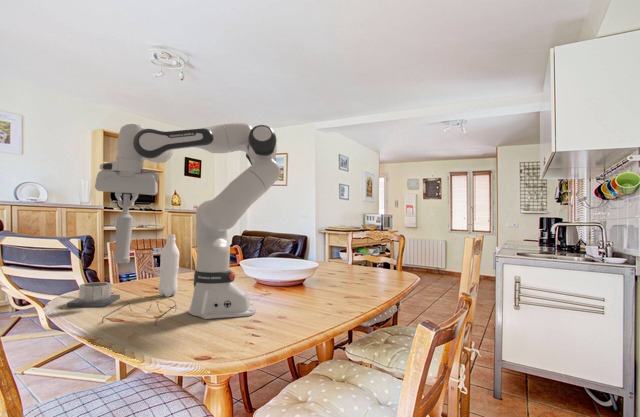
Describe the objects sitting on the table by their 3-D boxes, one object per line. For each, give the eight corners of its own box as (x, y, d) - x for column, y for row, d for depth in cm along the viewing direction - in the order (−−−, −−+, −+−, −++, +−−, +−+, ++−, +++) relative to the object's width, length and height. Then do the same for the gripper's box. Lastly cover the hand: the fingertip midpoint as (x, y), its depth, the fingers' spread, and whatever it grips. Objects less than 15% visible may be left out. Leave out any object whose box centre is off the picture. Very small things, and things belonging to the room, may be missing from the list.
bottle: (119, 263, 114) (125, 193, 115) (109, 262, 116) (115, 193, 117) (133, 262, 119) (138, 195, 120) (123, 261, 121) (128, 195, 122)
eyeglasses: (177, 313, 110) (178, 298, 110) (155, 327, 95) (156, 310, 95) (131, 311, 110) (132, 296, 110) (101, 325, 95) (102, 308, 96)
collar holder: (119, 298, 124) (120, 281, 124) (105, 306, 112) (106, 288, 113) (84, 298, 122) (86, 281, 122) (66, 307, 110) (67, 287, 110)
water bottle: (161, 293, 135) (165, 233, 136) (179, 293, 136) (183, 234, 137) (155, 297, 128) (158, 234, 129) (173, 297, 129) (177, 235, 130)
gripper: (161, 172, 124) (158, 207, 124) (103, 167, 121) (99, 204, 120) (156, 169, 118) (153, 207, 117) (94, 164, 114) (91, 203, 114)
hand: (125, 205), depth 119 cm, fingers closed on bottle, 2 cm apart
